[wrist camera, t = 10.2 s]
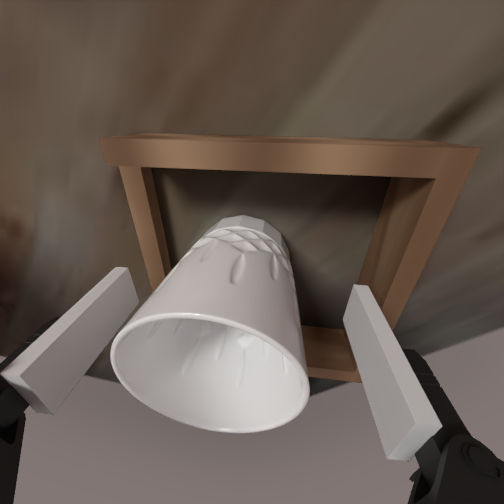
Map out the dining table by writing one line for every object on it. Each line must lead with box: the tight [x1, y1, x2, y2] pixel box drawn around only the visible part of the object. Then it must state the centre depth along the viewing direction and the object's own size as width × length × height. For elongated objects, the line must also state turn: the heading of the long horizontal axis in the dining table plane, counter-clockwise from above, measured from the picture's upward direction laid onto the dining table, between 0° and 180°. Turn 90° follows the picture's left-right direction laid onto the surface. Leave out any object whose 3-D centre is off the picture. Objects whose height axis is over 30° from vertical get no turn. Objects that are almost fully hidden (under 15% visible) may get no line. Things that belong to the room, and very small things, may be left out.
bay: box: [99, 133, 482, 383], centre depth 16 cm, size 18×16×4 cm
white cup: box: [110, 215, 310, 433], centre depth 13 cm, size 8×8×10 cm
